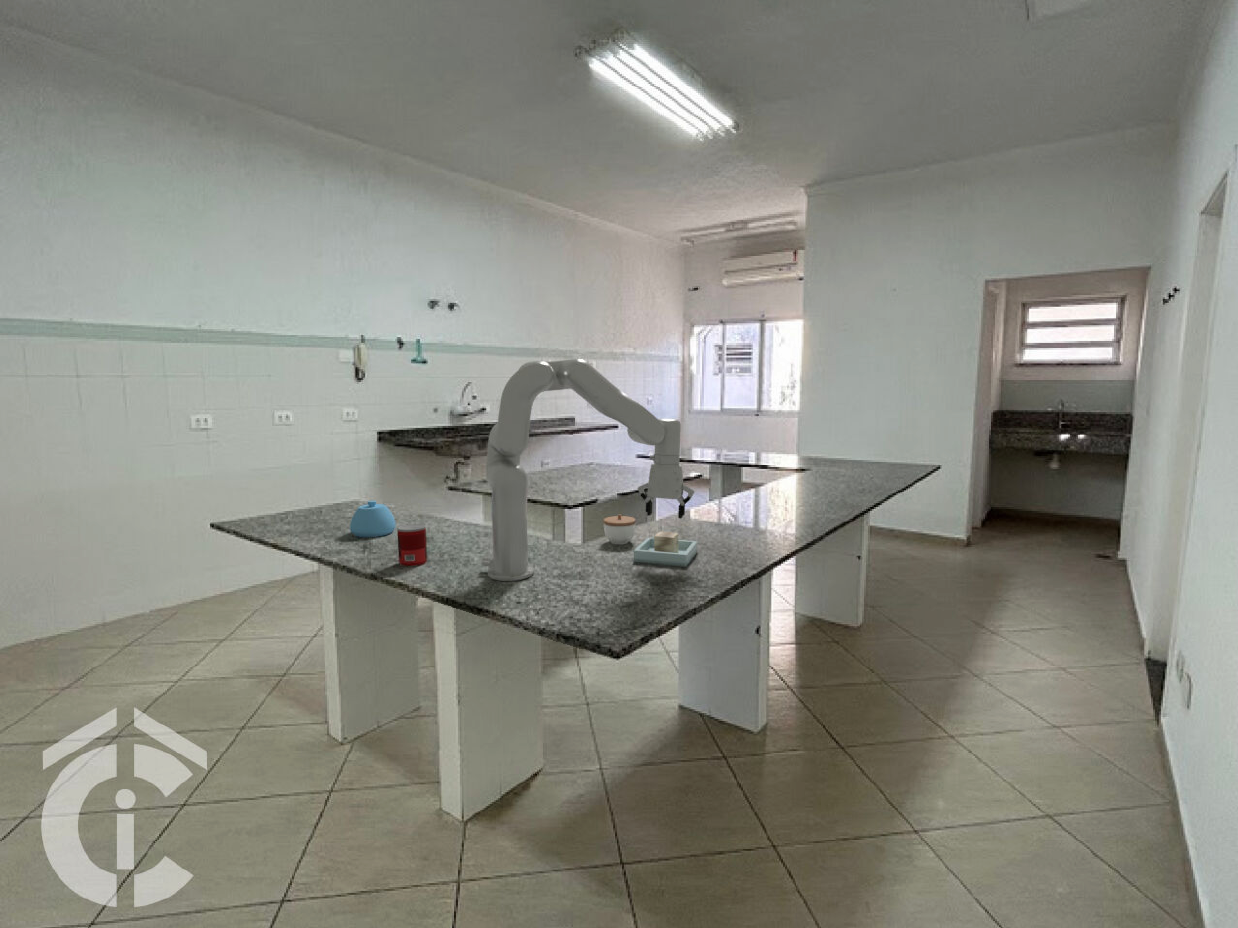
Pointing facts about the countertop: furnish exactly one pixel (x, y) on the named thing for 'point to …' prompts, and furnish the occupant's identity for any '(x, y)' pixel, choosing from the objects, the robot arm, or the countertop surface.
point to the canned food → (412, 544)
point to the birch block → (666, 542)
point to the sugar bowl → (372, 520)
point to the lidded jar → (619, 529)
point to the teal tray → (665, 553)
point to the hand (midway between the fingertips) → (664, 516)
